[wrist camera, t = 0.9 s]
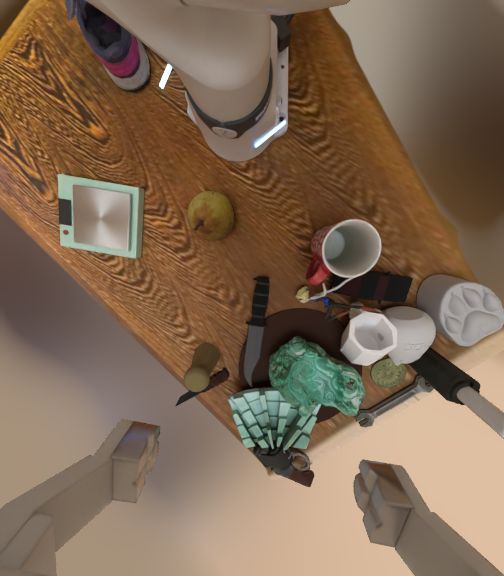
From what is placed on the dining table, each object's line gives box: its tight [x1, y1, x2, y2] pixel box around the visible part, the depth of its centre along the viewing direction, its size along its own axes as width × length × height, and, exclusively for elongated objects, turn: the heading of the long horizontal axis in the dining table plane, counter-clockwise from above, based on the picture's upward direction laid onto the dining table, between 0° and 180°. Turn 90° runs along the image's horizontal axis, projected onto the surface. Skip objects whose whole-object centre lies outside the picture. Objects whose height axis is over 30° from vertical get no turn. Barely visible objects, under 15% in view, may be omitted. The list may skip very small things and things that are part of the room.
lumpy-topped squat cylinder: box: [417, 274, 504, 346], centre depth 47 cm, size 10×13×9 cm
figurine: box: [295, 277, 381, 322], centre depth 45 cm, size 10×9×20 cm
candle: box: [408, 347, 504, 438], centre depth 43 cm, size 5×5×25 cm
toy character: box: [377, 306, 436, 366], centre depth 49 cm, size 10×10×12 cm
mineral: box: [269, 336, 365, 417], centre depth 49 cm, size 18×16×10 cm
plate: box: [239, 309, 362, 423], centre depth 55 cm, size 28×28×4 cm
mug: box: [306, 219, 381, 285], centre depth 44 cm, size 13×9×14 cm
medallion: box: [370, 357, 406, 388], centre depth 56 cm, size 8×8×1 cm
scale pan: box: [73, 184, 131, 251], centre depth 47 cm, size 11×11×1 cm
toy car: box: [329, 271, 413, 304], centre depth 49 cm, size 7×16×5 cm, turn 82°
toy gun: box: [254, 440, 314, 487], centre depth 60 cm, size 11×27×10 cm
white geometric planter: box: [340, 302, 397, 366], centre depth 49 cm, size 12×9×10 cm
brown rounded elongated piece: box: [184, 343, 220, 392], centre depth 52 cm, size 6×6×11 cm
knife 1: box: [176, 368, 229, 406], centre depth 59 cm, size 17×1×3 cm
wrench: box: [355, 375, 434, 427], centre depth 58 cm, size 5×2×20 cm
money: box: [228, 387, 321, 450], centre depth 53 cm, size 20×16×5 cm
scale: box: [58, 174, 144, 258], centre depth 49 cm, size 14×16×3 cm
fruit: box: [188, 191, 234, 240], centre depth 44 cm, size 9×9×12 cm
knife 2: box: [244, 277, 269, 387], centre depth 53 cm, size 25×2×5 cm
